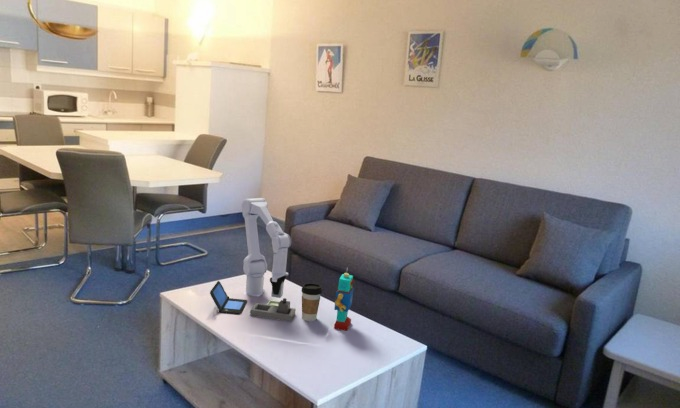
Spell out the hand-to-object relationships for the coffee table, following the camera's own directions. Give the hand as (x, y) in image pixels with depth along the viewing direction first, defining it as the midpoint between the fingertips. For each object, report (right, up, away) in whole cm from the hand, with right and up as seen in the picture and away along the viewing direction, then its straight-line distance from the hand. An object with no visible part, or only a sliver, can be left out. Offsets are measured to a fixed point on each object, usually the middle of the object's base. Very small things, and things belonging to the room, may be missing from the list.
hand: (277, 292), depth 225 cm
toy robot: (+28, -12, -10) cm, 32 cm away
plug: (0, -1, 0) cm, 2 cm away
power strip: (-1, -8, -8) cm, 11 cm away
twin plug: (+4, -8, -8) cm, 12 cm away
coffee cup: (+14, -10, -8) cm, 19 cm away
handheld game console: (-20, -6, -3) cm, 21 cm away
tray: (-1, -7, +1) cm, 7 cm away
